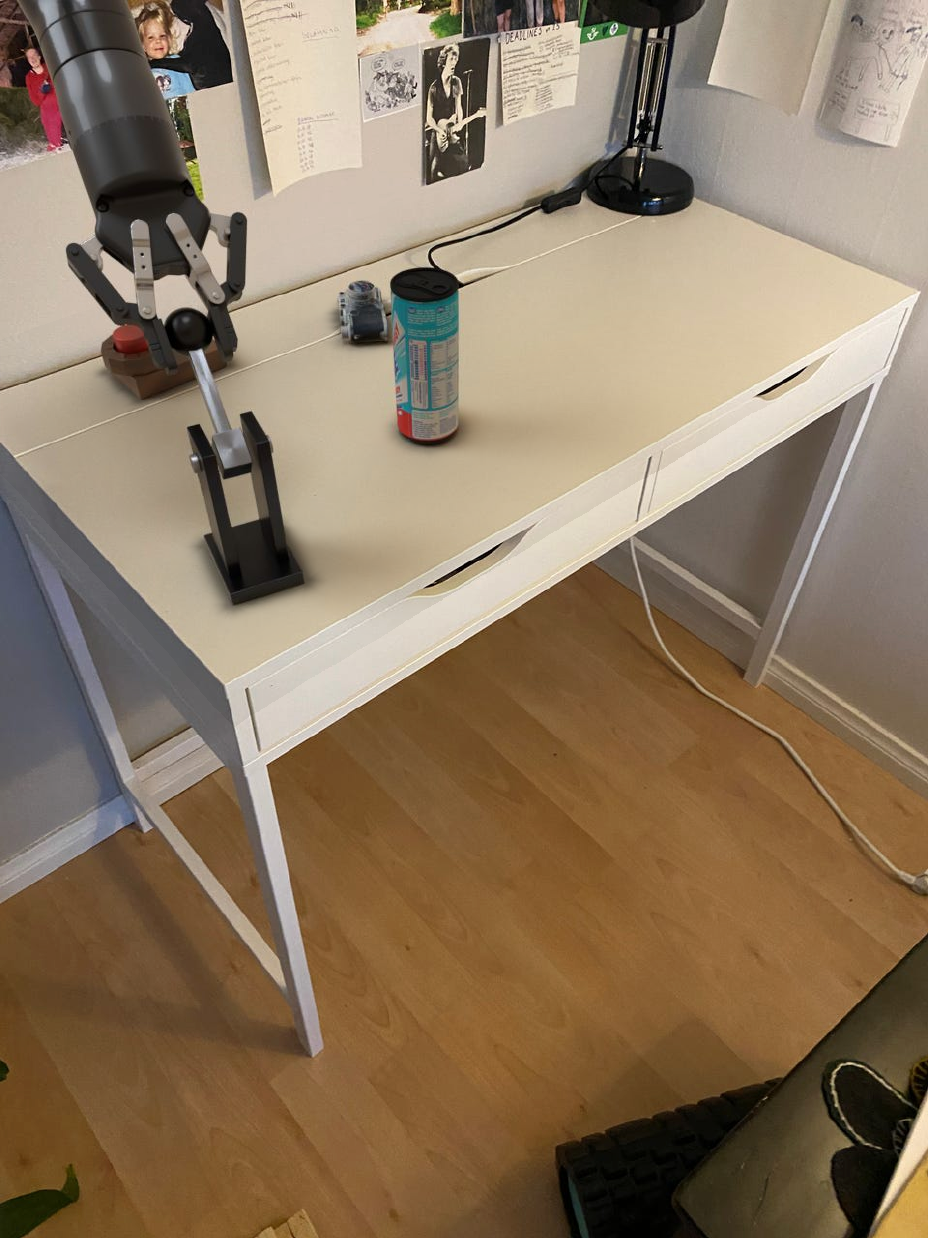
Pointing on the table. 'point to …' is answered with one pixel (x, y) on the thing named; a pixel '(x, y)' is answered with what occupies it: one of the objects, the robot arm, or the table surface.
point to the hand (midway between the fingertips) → (200, 364)
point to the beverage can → (426, 353)
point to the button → (129, 339)
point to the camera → (362, 313)
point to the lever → (208, 388)
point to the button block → (151, 369)
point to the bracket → (254, 549)
